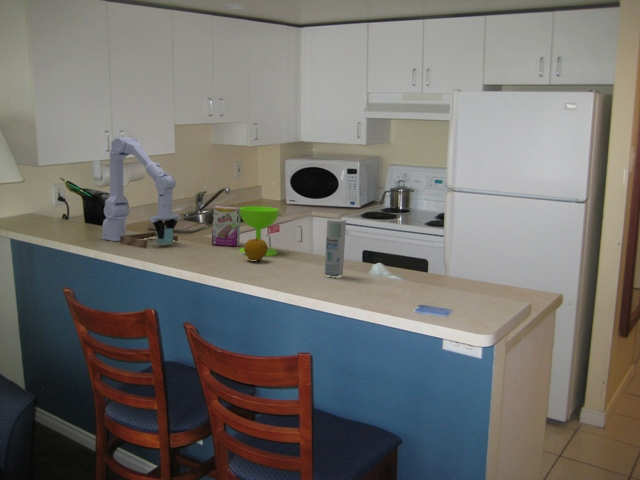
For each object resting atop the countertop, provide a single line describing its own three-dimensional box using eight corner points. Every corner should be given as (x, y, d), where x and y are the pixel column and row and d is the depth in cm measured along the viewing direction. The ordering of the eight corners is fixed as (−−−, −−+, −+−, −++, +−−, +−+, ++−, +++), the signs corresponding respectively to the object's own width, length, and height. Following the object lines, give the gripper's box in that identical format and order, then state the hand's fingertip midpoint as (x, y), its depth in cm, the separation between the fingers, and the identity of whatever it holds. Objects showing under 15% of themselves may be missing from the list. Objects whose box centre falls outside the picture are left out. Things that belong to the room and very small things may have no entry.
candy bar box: (211, 245, 282) (212, 207, 280) (214, 243, 287) (215, 205, 285) (237, 247, 281) (238, 208, 279) (239, 245, 286) (241, 207, 284)
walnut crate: (120, 243, 277) (120, 236, 276) (153, 238, 291) (153, 232, 291) (145, 248, 268) (145, 240, 268) (177, 243, 283) (177, 236, 283)
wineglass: (231, 253, 266) (232, 209, 263) (247, 247, 281) (248, 205, 278) (269, 257, 261) (270, 212, 258) (282, 251, 276) (284, 208, 273)
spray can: (346, 276, 233) (349, 220, 230) (337, 279, 228) (340, 221, 225) (330, 273, 237) (333, 218, 234) (321, 276, 231) (323, 219, 228)
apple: (263, 264, 247) (264, 240, 246) (240, 262, 249) (241, 238, 248) (270, 260, 256) (270, 237, 255) (247, 258, 258) (248, 235, 256)
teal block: (157, 242, 274) (157, 228, 273) (164, 241, 278) (164, 227, 277) (165, 243, 272) (165, 229, 271) (172, 242, 275) (172, 228, 274)
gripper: (158, 207, 264) (158, 241, 266) (185, 205, 276) (184, 237, 278) (146, 205, 268) (146, 238, 270) (173, 203, 280) (172, 235, 282)
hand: (164, 238), depth 274 cm, fingers closed on teal block, 4 cm apart
